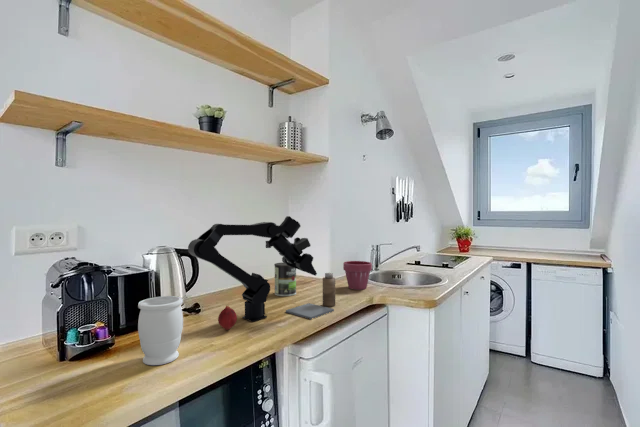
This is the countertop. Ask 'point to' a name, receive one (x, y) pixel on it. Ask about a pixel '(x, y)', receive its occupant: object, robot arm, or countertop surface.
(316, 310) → the slate board
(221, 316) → the onion
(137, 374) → the countertop surface
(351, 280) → the plant pot
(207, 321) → the countertop surface
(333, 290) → the pepper mill
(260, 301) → the robot arm
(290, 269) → the coffee can
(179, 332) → the jar
